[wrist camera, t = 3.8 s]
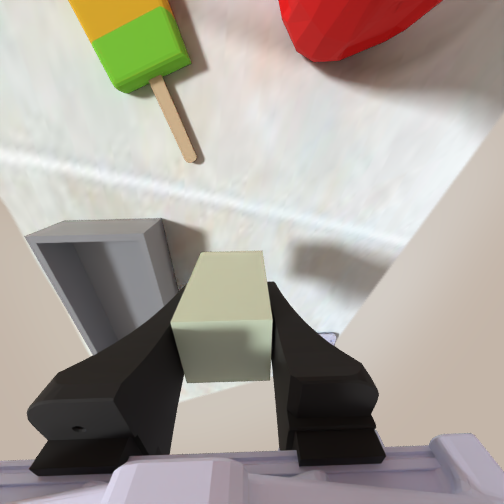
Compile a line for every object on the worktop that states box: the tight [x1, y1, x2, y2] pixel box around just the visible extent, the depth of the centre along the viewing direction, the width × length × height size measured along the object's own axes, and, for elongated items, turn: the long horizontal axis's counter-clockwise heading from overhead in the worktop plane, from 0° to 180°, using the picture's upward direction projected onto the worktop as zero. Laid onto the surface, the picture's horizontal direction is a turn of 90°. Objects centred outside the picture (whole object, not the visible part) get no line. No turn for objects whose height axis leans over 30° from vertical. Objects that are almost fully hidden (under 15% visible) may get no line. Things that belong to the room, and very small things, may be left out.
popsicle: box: [68, 0, 197, 163], centre depth 13 cm, size 6×15×2 cm, turn 19°
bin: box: [24, 218, 178, 355], centre depth 22 cm, size 18×9×4 cm, turn 1°
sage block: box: [170, 251, 273, 383], centre depth 12 cm, size 4×4×6 cm
